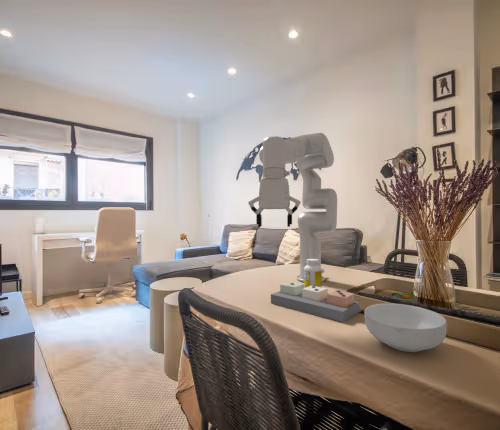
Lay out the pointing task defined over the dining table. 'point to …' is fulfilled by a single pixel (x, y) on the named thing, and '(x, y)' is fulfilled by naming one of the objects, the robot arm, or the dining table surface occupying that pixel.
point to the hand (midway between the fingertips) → (274, 226)
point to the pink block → (340, 298)
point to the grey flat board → (315, 306)
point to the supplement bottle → (312, 273)
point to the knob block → (291, 288)
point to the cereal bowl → (405, 326)
